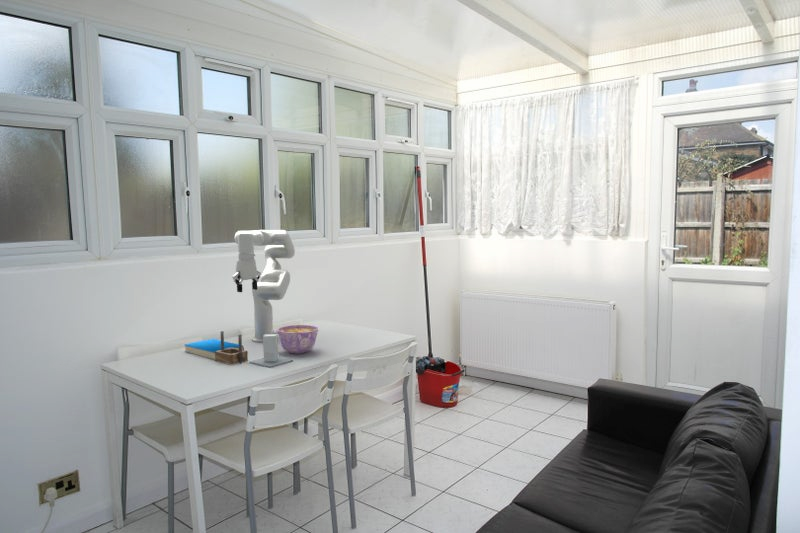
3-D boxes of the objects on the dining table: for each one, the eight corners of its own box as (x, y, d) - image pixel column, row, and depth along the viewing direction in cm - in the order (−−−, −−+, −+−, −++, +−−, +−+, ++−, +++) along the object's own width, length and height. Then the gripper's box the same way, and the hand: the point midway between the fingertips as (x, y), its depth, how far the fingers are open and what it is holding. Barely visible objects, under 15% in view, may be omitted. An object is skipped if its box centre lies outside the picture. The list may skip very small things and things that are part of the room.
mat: (272, 356, 261) (272, 355, 261) (293, 361, 253) (293, 359, 253) (249, 363, 249) (249, 361, 249) (270, 367, 241) (270, 366, 241)
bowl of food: (309, 357, 259) (309, 333, 258) (270, 355, 263) (270, 332, 262) (323, 348, 278) (323, 325, 277) (287, 346, 282) (286, 324, 281)
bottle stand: (230, 356, 261) (229, 329, 260) (249, 360, 253) (249, 333, 252) (213, 360, 253) (212, 333, 252) (233, 365, 245) (232, 336, 244)
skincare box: (278, 359, 253) (278, 333, 252) (276, 362, 249) (276, 336, 247) (265, 359, 253) (264, 333, 252) (263, 362, 248) (262, 336, 247)
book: (214, 352, 255) (183, 343, 270) (214, 361, 256) (184, 352, 270) (244, 345, 269) (213, 337, 284) (244, 353, 269) (214, 345, 284)
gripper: (254, 255, 281) (255, 287, 283) (227, 257, 266) (228, 292, 268) (264, 255, 276) (265, 289, 278) (237, 258, 262) (238, 293, 264)
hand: (247, 290), depth 273 cm, fingers open, 9 cm apart
